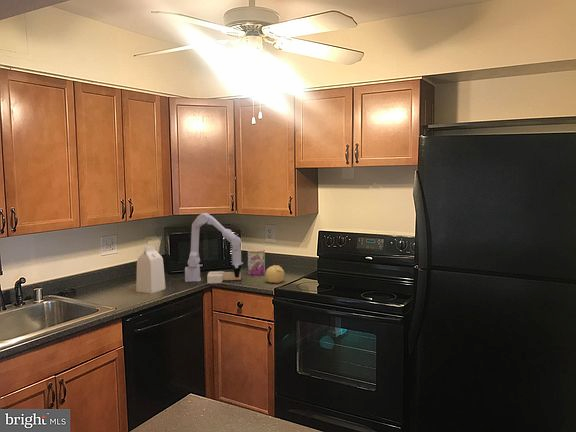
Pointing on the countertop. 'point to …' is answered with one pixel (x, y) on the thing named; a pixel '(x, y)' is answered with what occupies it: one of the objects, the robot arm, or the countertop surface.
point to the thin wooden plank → (230, 276)
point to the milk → (150, 271)
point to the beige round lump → (274, 274)
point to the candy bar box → (256, 262)
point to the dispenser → (214, 277)
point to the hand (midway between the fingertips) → (237, 277)
